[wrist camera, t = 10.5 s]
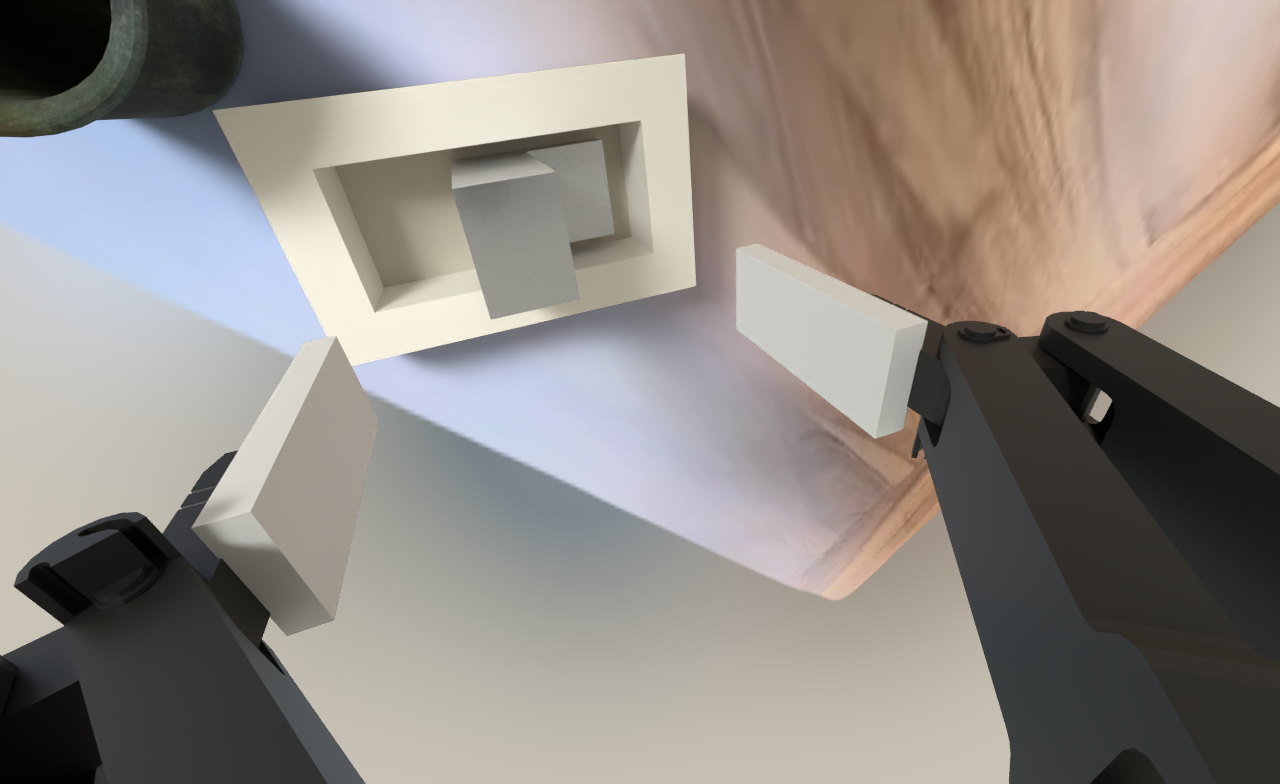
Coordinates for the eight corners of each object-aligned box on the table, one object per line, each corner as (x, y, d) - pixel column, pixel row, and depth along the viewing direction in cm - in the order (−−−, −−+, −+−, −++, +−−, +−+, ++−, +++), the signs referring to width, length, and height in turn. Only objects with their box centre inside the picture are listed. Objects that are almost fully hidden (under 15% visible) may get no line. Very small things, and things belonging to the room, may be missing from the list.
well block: (253, 109, 27) (212, 110, 23) (650, 60, 33) (684, 53, 28) (357, 332, 35) (343, 368, 30) (667, 264, 40) (696, 285, 35)
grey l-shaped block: (451, 160, 31) (451, 189, 20) (594, 138, 33) (662, 153, 22) (478, 253, 34) (490, 319, 24) (607, 228, 36) (671, 278, 26)
